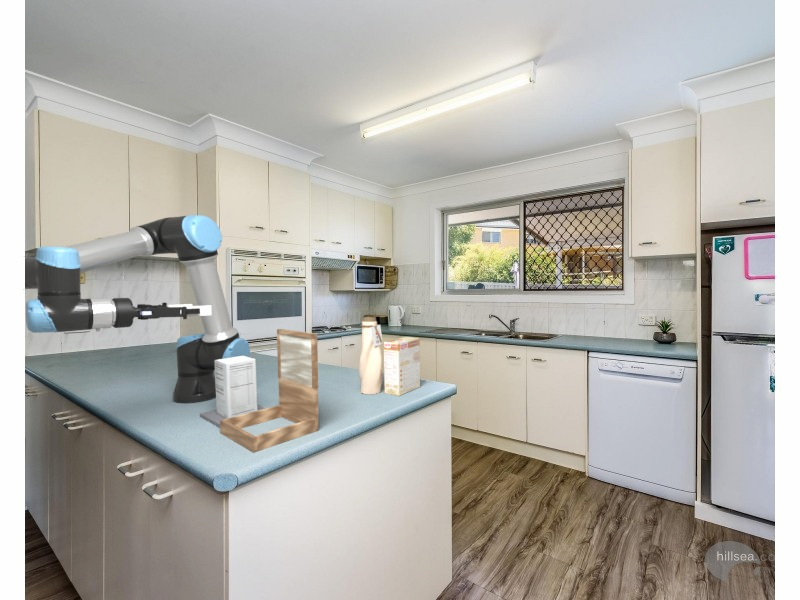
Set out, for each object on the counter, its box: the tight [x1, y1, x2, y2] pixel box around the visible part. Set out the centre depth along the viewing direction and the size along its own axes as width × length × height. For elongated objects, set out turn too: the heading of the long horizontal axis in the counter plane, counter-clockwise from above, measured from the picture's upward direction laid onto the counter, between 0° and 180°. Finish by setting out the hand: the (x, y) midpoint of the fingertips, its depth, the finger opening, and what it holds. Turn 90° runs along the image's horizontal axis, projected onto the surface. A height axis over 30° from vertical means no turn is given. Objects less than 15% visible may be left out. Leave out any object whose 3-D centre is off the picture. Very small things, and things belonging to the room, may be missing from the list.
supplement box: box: [214, 356, 258, 419], centre depth 121 cm, size 10×9×17 cm
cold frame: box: [219, 328, 320, 454], centre depth 107 cm, size 19×19×27 cm
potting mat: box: [199, 404, 266, 429], centre depth 121 cm, size 16×16×1 cm
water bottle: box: [358, 316, 384, 395], centre depth 146 cm, size 10×9×28 cm
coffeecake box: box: [383, 336, 421, 397], centre depth 148 cm, size 15×7×20 cm, turn 145°
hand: (201, 309), depth 113 cm, fingers open, 13 cm apart
